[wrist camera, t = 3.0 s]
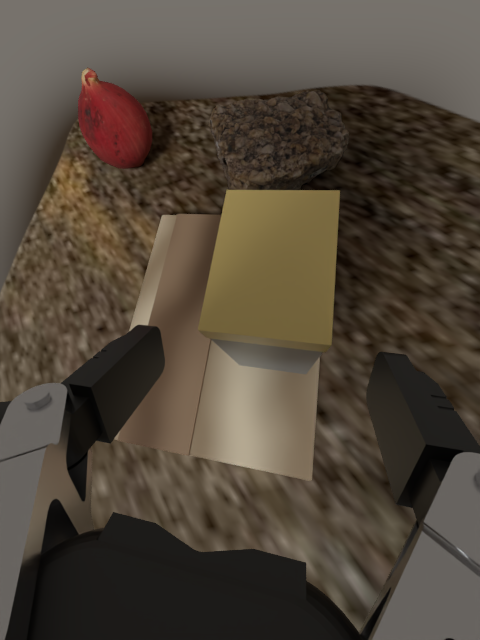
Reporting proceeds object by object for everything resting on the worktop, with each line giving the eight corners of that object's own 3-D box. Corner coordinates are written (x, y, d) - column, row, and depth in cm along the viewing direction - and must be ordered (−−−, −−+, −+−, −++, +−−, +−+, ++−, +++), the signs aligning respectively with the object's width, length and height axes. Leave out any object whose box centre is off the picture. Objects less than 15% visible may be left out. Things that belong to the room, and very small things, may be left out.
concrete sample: (227, 224, 23) (213, 177, 18) (215, 143, 26) (200, 85, 22) (360, 194, 22) (381, 136, 17) (329, 113, 25) (340, 45, 21)
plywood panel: (326, 229, 21) (329, 217, 20) (309, 475, 16) (312, 481, 15) (167, 223, 24) (161, 213, 23) (110, 434, 19) (97, 436, 18)
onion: (145, 194, 25) (88, 106, 18) (102, 179, 27) (32, 93, 20) (175, 150, 27) (133, 51, 19) (132, 138, 28) (78, 42, 21)
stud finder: (313, 288, 19) (340, 190, 10) (306, 375, 17) (331, 345, 8) (251, 284, 19) (226, 189, 11) (238, 365, 18) (197, 329, 9)
